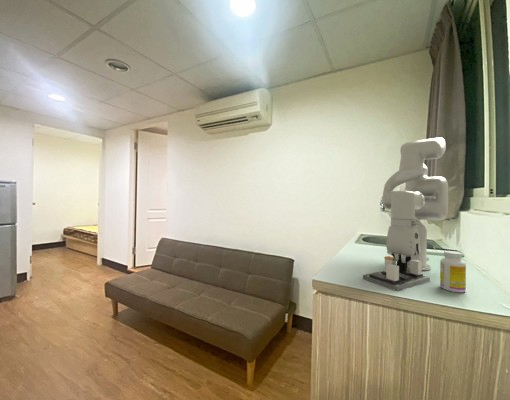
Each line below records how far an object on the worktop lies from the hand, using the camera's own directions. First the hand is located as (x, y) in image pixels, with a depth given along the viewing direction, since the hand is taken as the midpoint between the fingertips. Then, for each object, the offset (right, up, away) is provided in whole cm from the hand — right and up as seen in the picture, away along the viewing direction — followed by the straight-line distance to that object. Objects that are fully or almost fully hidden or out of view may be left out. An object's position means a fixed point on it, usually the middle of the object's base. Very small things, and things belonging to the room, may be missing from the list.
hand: (401, 272), depth 84 cm
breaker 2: (+7, -1, +3) cm, 8 cm away
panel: (-1, -4, +2) cm, 4 cm away
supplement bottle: (+13, -4, -7) cm, 15 cm away
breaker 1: (-6, -1, -4) cm, 8 cm away
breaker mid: (-2, -1, +4) cm, 5 cm away
